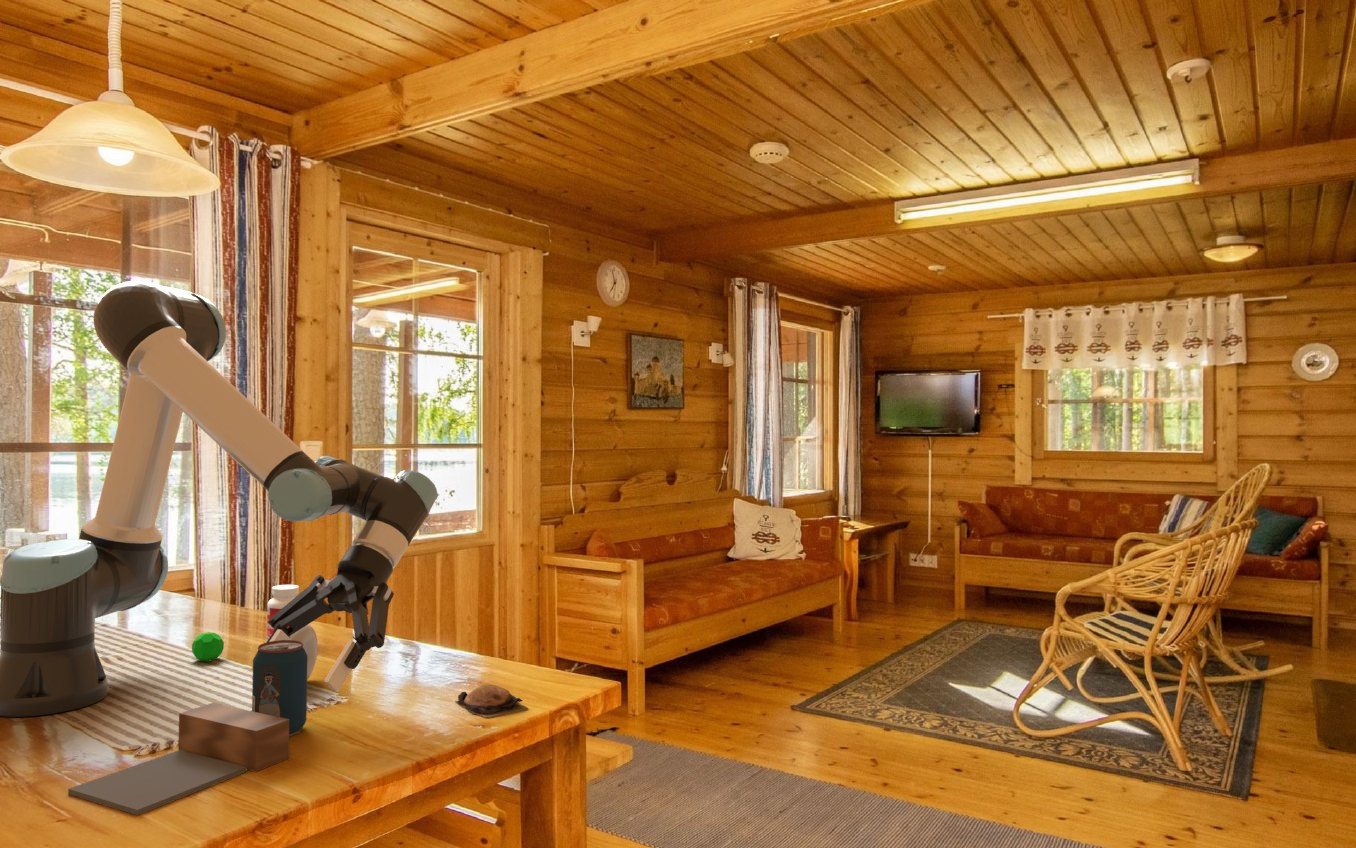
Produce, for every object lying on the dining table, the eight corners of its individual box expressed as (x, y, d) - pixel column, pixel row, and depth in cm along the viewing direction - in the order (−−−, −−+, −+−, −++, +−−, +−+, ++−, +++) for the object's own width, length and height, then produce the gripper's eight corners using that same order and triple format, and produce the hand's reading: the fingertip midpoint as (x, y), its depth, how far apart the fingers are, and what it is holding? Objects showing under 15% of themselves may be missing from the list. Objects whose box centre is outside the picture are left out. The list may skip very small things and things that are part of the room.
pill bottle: (260, 645, 173) (261, 586, 173) (291, 639, 178) (292, 582, 178) (277, 651, 169) (278, 591, 169) (308, 645, 174) (309, 586, 174)
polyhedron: (185, 662, 160) (185, 635, 160) (205, 655, 165) (205, 629, 165) (209, 665, 159) (210, 637, 159) (229, 658, 164) (230, 631, 164)
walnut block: (178, 752, 119) (179, 713, 119) (212, 740, 123) (213, 702, 123) (255, 771, 113) (256, 731, 113) (288, 758, 117) (289, 719, 117)
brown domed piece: (532, 713, 139) (533, 689, 139) (481, 724, 134) (482, 699, 134) (498, 695, 147) (498, 672, 147) (449, 705, 142) (449, 681, 142)
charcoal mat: (68, 794, 105) (68, 788, 105) (180, 754, 118) (180, 750, 118) (137, 815, 100) (137, 810, 100) (246, 771, 113) (246, 767, 113)
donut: (295, 694, 144) (296, 630, 144) (273, 694, 144) (274, 630, 144) (320, 676, 154) (321, 616, 154) (300, 676, 154) (301, 616, 154)
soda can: (301, 720, 132) (302, 636, 132) (310, 735, 126) (312, 647, 126) (248, 728, 128) (249, 642, 128) (255, 744, 122) (257, 653, 122)
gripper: (448, 579, 139) (376, 707, 125) (324, 565, 149) (245, 682, 136) (425, 548, 134) (348, 678, 120) (298, 536, 144) (214, 654, 131)
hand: (293, 680), depth 128 cm, fingers open, 13 cm apart
